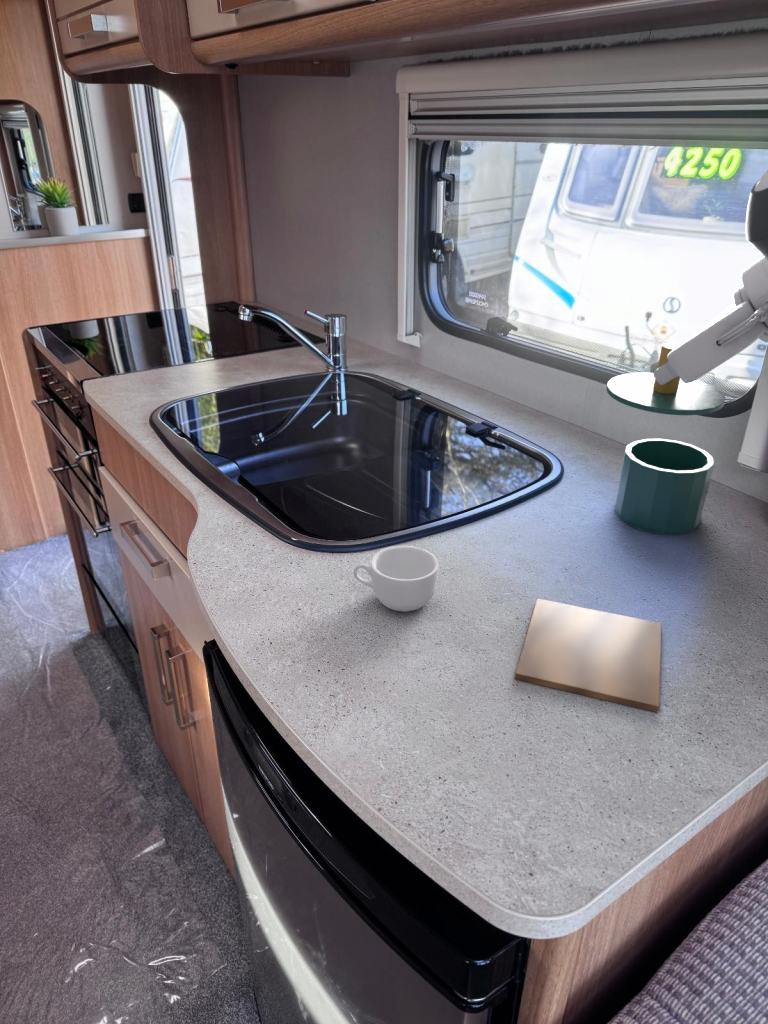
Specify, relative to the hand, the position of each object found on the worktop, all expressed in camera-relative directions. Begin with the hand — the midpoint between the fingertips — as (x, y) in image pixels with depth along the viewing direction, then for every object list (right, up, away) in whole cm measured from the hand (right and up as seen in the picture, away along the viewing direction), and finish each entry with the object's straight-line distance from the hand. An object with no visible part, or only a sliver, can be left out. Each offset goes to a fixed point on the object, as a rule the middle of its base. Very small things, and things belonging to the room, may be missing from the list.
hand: (663, 373), depth 81 cm
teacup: (-30, -26, +6) cm, 40 cm away
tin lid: (0, -2, +1) cm, 2 cm away
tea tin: (+8, -16, +25) cm, 30 cm away
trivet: (-9, -31, -3) cm, 32 cm away
